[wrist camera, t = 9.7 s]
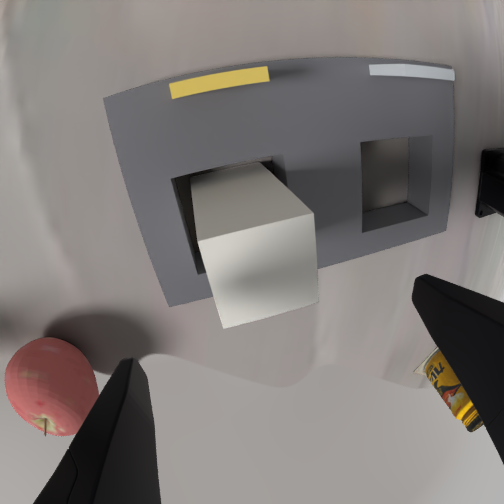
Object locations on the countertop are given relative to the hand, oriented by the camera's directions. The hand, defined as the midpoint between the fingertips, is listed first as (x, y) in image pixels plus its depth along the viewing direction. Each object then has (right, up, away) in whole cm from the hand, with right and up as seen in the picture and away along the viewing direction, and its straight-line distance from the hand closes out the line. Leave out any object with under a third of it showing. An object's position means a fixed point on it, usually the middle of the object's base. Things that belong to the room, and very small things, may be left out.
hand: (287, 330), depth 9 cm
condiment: (+25, -11, +26) cm, 38 cm away
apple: (-16, -6, +12) cm, 21 cm away
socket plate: (+2, +8, +9) cm, 12 cm away
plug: (-2, +5, +9) cm, 11 cm away
